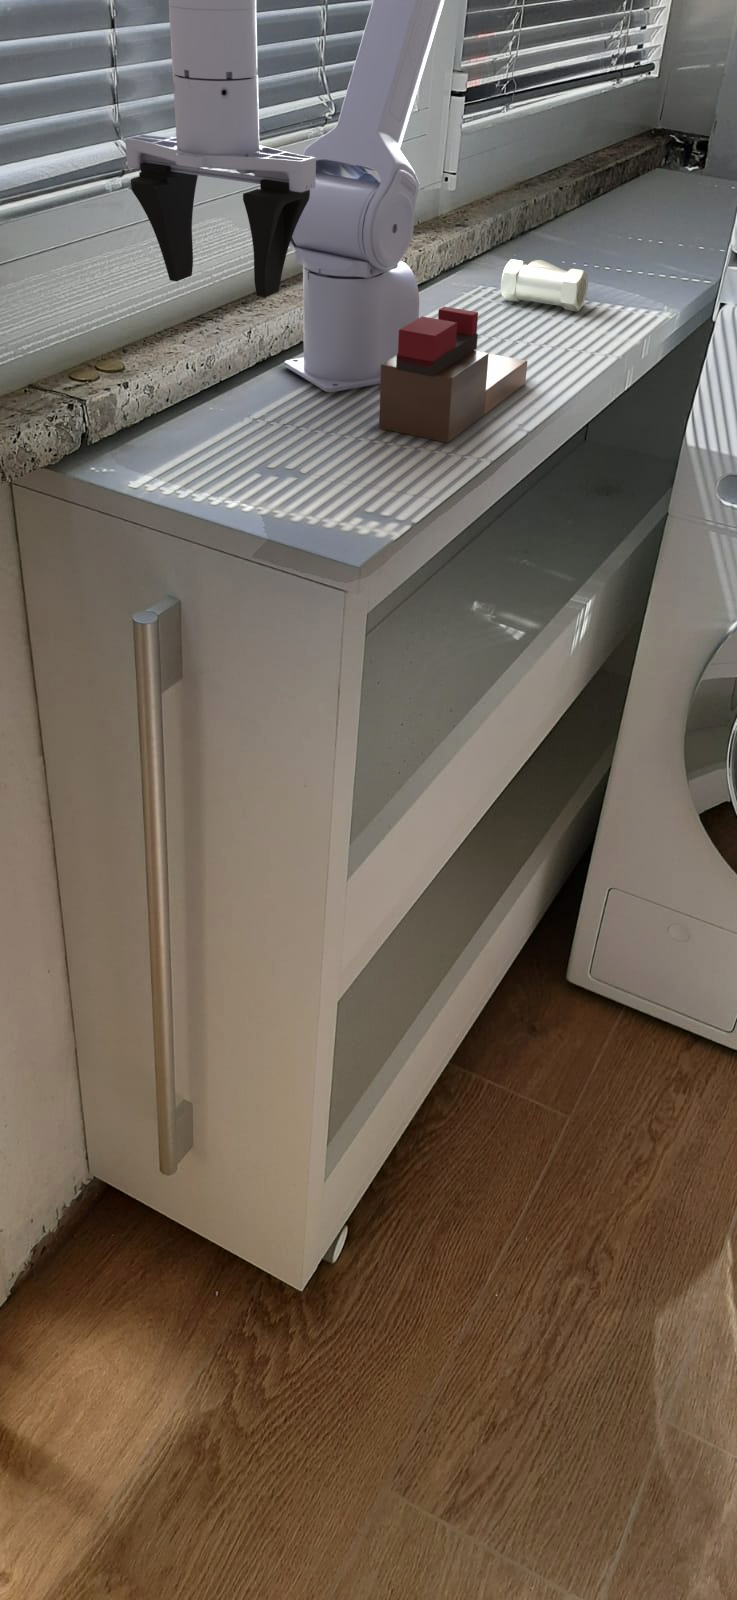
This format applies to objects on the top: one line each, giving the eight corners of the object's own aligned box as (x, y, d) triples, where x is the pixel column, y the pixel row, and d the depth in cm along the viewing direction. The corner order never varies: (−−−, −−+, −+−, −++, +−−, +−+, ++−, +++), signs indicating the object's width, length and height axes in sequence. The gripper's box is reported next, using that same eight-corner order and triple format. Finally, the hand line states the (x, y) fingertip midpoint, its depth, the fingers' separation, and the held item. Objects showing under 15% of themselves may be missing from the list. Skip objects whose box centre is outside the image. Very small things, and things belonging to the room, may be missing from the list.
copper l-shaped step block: (462, 371, 111) (466, 313, 108) (525, 383, 108) (531, 324, 105) (378, 428, 99) (380, 364, 96) (447, 443, 97) (451, 378, 94)
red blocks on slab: (440, 342, 101) (442, 303, 99) (476, 348, 100) (479, 309, 98) (395, 369, 95) (397, 329, 93) (434, 377, 94) (436, 336, 92)
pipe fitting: (523, 292, 133) (498, 302, 128) (527, 252, 131) (503, 261, 126) (595, 304, 130) (573, 314, 125) (601, 263, 128) (579, 272, 123)
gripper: (91, 71, 85) (110, 283, 93) (277, 91, 79) (280, 314, 87) (153, 61, 90) (166, 262, 98) (331, 80, 84) (329, 291, 92)
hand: (223, 285), depth 93 cm, fingers open, 7 cm apart
